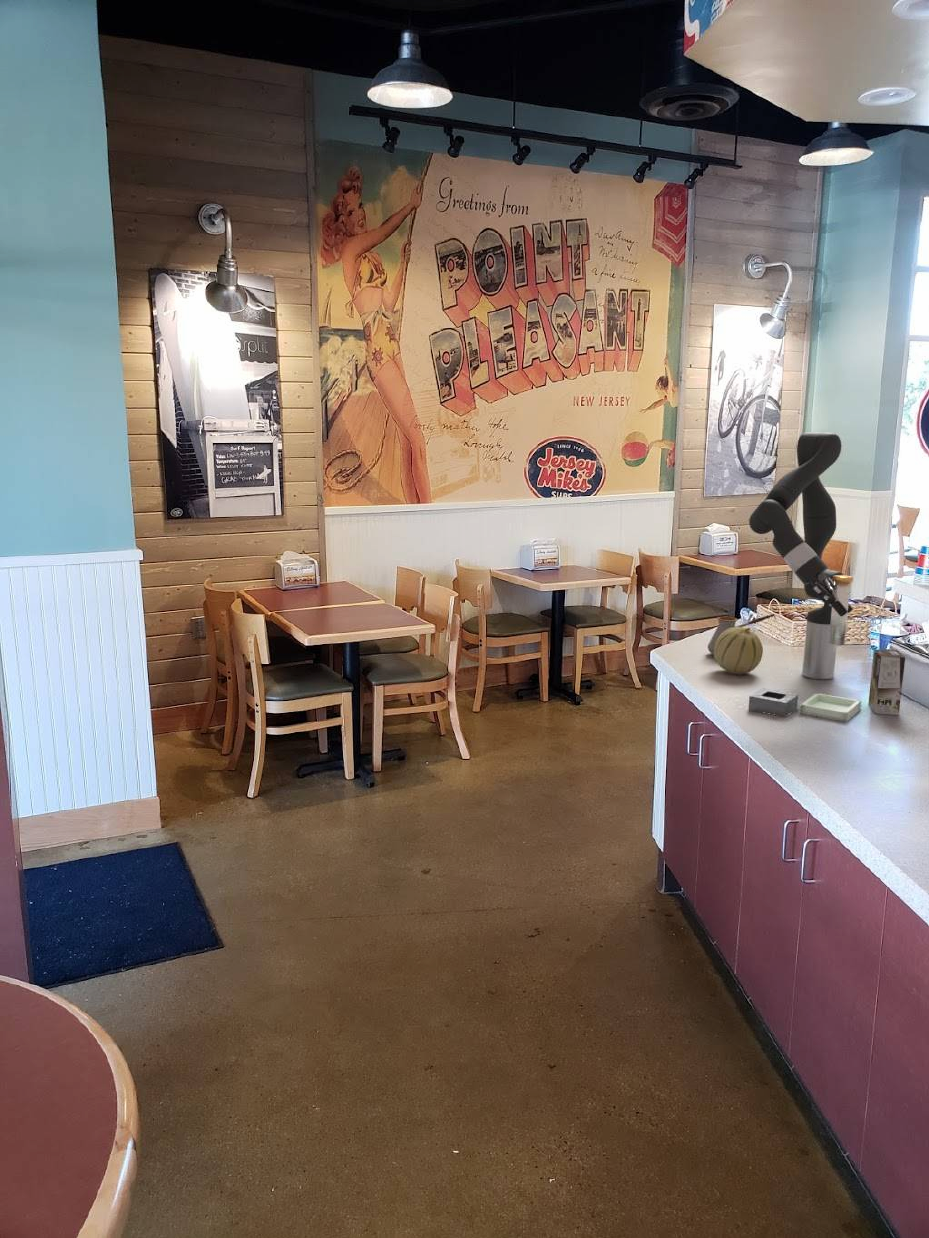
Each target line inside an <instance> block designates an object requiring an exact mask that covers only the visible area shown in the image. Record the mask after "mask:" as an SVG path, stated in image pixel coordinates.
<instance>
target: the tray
mask: <svg viewBox="0 0 929 1238" xmlns="http://www.w3.org/2000/svg"><path fill="white" fill-rule="evenodd" d="M861 705H862V700H859V699H853V698H848V697H842V696H837V695H829V694H825V693H819V692H816V693H814V694H813V695H812V696H810V697H809V698H807V700H805V701H804V702H802V703H800V707H799V714H801V713H803V714H802V715H806V714H808V715H807V716H811V715H813V716H812V717H816V716H818V717H817V718H821V717H823V719H827V718H828V719H827V720H832V719H834V720H833V721H837V720H839V721H838V722H842V721H843V722H842V723H847V722H848V721H849V720H850V719H851V718H853V716H855V715H856V714H858V713H859V711H860V710H861V709H862V708H861V707H862V706H861Z"/></svg>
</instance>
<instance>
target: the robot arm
mask: <svg viewBox="0 0 929 1238" xmlns="http://www.w3.org/2000/svg"><path fill="white" fill-rule="evenodd" d="M841 451H842V439H841V438H840V436H839V435H838V434H837V433H834V432H824V431H823V432H822V431H818V432H817V431H808V432H803V433H802V434H800V436H799V438H798V440H797V444H796V454H797V455H796V458H797V464H798V467H796V468H794V469H792V470H790V471H789V472H788V473H786V474H784V475H783V476H782V477H781V478H780V479H779V480H778V481H777V482H776V484H775V485H773V487H772V489H771V490H770V491H769V493H768V494H767V496H766V498H765V499H764V500H763V501H762V502H760V503H759V504H758V506H757V507H756V508H755V509H754V511H753V512H752V513H751V514H750V517H749V520H748V521H749V522H748V523H749V527H750V529H751V531H753V533H756V534H759V535H765V534H769V533H770V532H771V531H772V534H773V539H772V542H771V544H772V546H773V548H774V549H775V550H776V552H777V553H778V554H779V555H780V556H781V557H782V558H783V560H784V561H785V563H786V564H787V567H789V569H790V570H791V571H792V572H793V573H794V574H795V575H796V576H797V578H798V580H799V581H800V582H802V584H803V588H804V592H805V594H806V595H807V596H808V597H809V598H813V599H815V600H821V602H823V606H822V607H820V608H816V609H815V608H814V609H811V610H809V611H808V612H807V614H806V615H807V616H806V628H805V638H804V649H803V661H802V668H801V669H802V670H801V675H802V676H803V677H807V678H808V679H816V680H831V679H833V678H834V676H835V667H836V666H835V665H836V657H837V647H838V645H834V644H830V643H829V634H830V623H831V613H832V607H833V608H834V609H835V611H836V612H837V613H838V614H839V615H840V616H841V617H842V616H844V615H845V614H846V613H848V614H849V613H850V612H852V611H853V610H854V609H853V607H852V606H851V604H849V605H848V611H847V609H846V608H845V607H844V606H843V605H842V603H841V602H840V601H839V600H838V598H837V597H836V596H835V591H834V582H835V581H833V576H835V575H843V576H845V574H844V573H843V572H842V571H839V570H835V569H834V570H832V569H828V566H827V564H826V563H825V562H824V561H823V560H822V558H823V557H822V556H823V554H824V553H823V552H824V550H825V548H826V547H827V546H828V544H829V542H831V539H832V538H833V536H834V534H835V532H836V529H837V509H836V505H835V502H834V500H833V498H832V497H831V495H830V493H829V492H828V490H827V489H826V487H825V486H824V485H823V483H822V481H821V479H820V476H821V475H822V474H823V473H824V472H826V471H827V470H829V468H830V467H832V466H833V465H834V463H836V461H838V459H839V457H840V454H841V453H842V452H841ZM800 495H801V500H802V523H803V524H802V525H803V536H804V538H802V536H800V534H799V533H798V532H797V531H796V529H795V528H794V525H793V523H792V521H791V519H790V517H789V514H788V513H787V511H788V510H789V509H790V508H791V507H792V506H793V504H794V503H795V502H796V501H797V500H798V498H799V496H800Z"/></svg>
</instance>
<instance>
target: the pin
mask: <svg viewBox="0 0 929 1238" xmlns="http://www.w3.org/2000/svg"><path fill="white" fill-rule="evenodd" d="M843 575H844V574H843ZM843 575H835V576H833V581H835V582H834V591H835V596H836V597H837V598H838V600H839V601H840V602H841V603H842V605H843V606H844V607H845V608H846V609H847V611H848V605H850V603H849V602H850V593H851V585H852V584H851V583H853V582H854V577H853V576H850V575H844V576H843ZM848 614H849V613H846V614H845V615H844V616H842V617H841V616H840V615H839V614H838V613H837V612H836V611H835V609H834V608H833V607H832V613H831V623H830V634H829V643H830V644H834V645H837V646H843V645H845V644H846V636H847V635H846V634H847V626H848V625H847V624H848V623H847V622H848Z"/></svg>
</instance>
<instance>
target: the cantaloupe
mask: <svg viewBox="0 0 929 1238" xmlns="http://www.w3.org/2000/svg"><path fill="white" fill-rule="evenodd" d="M763 652H764V647H763V643H762V641H761V638H760V637H759V635H758V634H756V633H755V632H754V631H752V629H751V628H750V627H747V628H746V627H736V626H735V627H733V628H729V629H727V630H725V631H724V632H722V633H721V634H720V636H719V637H718V639H717V641H716V643H715V647H714V656H713V657H714V660H715V662H716V663H717V665H718V666H719V667H720V668H721V669H722V670H724V671H725V672H726V673H729V674H733V675H746V674H748V673H751V672H753V671H754V670H755V669H756V668H757V667H758V665H759V664H761V661H762V657H763Z"/></svg>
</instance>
